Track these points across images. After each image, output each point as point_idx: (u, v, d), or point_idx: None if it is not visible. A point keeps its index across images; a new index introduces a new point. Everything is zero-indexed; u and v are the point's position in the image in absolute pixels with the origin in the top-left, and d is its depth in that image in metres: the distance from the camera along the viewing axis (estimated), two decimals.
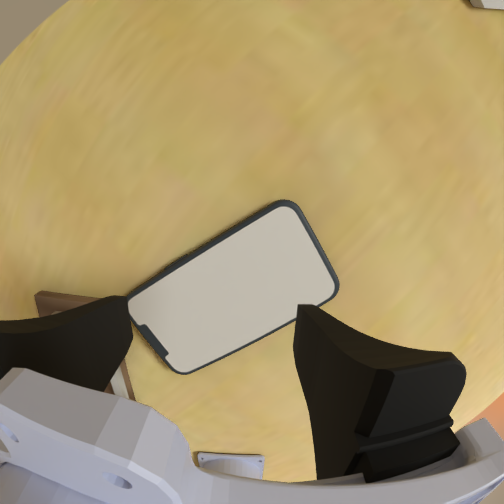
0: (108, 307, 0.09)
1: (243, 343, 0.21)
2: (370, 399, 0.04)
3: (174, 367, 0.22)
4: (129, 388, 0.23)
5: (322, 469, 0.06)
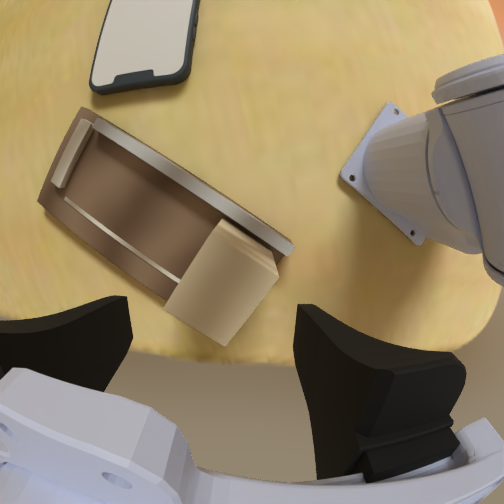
0: (108, 307, 0.09)
1: (189, 8, 0.15)
2: (370, 399, 0.04)
3: (169, 73, 0.17)
4: (172, 161, 0.19)
5: (323, 470, 0.06)
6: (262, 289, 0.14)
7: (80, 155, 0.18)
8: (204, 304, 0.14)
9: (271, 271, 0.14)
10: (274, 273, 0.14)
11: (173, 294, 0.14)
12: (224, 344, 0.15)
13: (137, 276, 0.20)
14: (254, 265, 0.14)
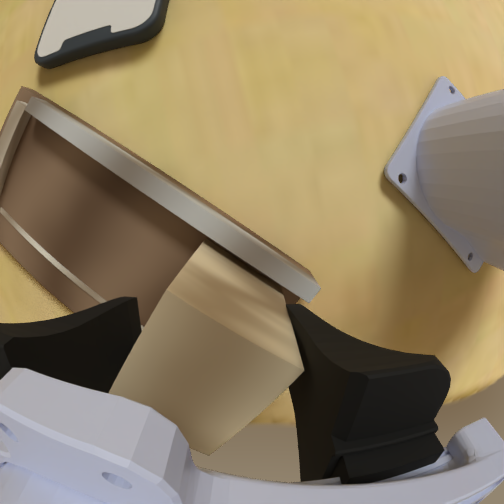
0: (119, 308, 0.09)
1: None
2: (345, 402, 0.04)
3: (132, 26, 0.09)
4: (129, 152, 0.12)
5: (305, 471, 0.06)
6: (272, 390, 0.07)
7: (16, 150, 0.11)
8: (167, 405, 0.07)
9: (289, 360, 0.07)
10: (295, 363, 0.07)
11: (114, 386, 0.07)
12: (207, 453, 0.08)
13: None
14: (257, 352, 0.07)
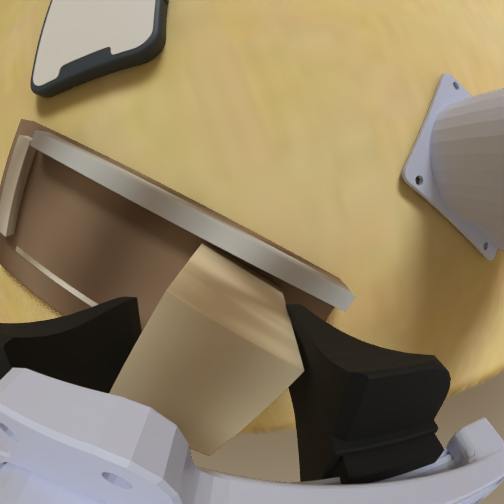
0: (119, 308, 0.09)
1: None
2: (345, 402, 0.04)
3: (133, 46, 0.10)
4: (149, 180, 0.12)
5: (305, 471, 0.06)
6: (272, 390, 0.07)
7: (25, 187, 0.11)
8: (168, 406, 0.07)
9: (289, 360, 0.07)
10: (295, 363, 0.07)
11: (115, 387, 0.07)
12: (208, 453, 0.08)
13: None
14: (256, 353, 0.07)
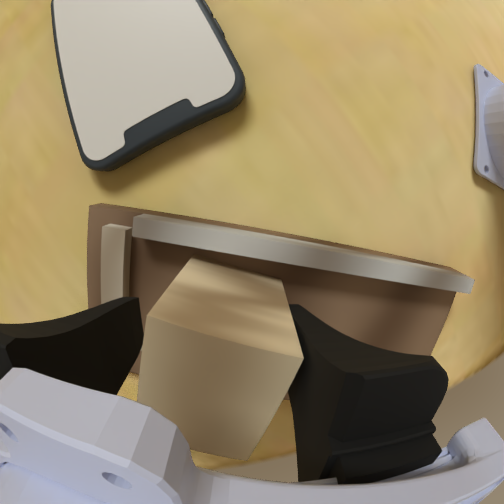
0: (121, 308, 0.09)
1: None
2: (341, 403, 0.04)
3: (220, 94, 0.10)
4: (291, 236, 0.13)
5: (302, 472, 0.06)
6: (279, 385, 0.07)
7: (130, 281, 0.12)
8: (189, 421, 0.07)
9: (285, 351, 0.07)
10: (292, 353, 0.07)
11: None
12: (244, 458, 0.08)
13: None
14: (249, 352, 0.07)
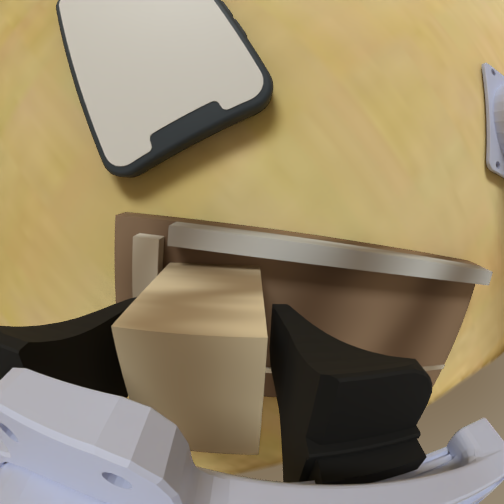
0: None
1: None
2: (317, 405, 0.04)
3: (250, 96, 0.11)
4: (324, 238, 0.13)
5: (286, 473, 0.06)
6: (254, 369, 0.07)
7: None
8: (185, 423, 0.07)
9: (248, 334, 0.07)
10: (255, 334, 0.07)
11: None
12: (255, 452, 0.08)
13: None
14: (209, 342, 0.06)
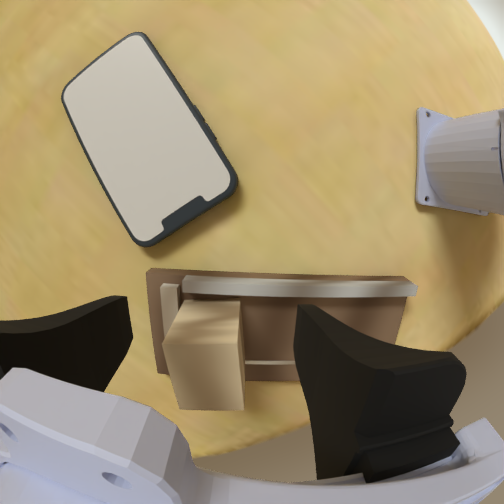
0: (108, 307, 0.09)
1: (183, 105, 0.16)
2: (370, 399, 0.04)
3: (222, 190, 0.18)
4: (281, 276, 0.20)
5: (322, 469, 0.06)
6: (233, 359, 0.14)
7: None
8: (202, 391, 0.14)
9: (228, 342, 0.14)
10: (231, 342, 0.14)
11: (177, 397, 0.15)
12: (242, 408, 0.15)
13: None
14: (210, 347, 0.14)
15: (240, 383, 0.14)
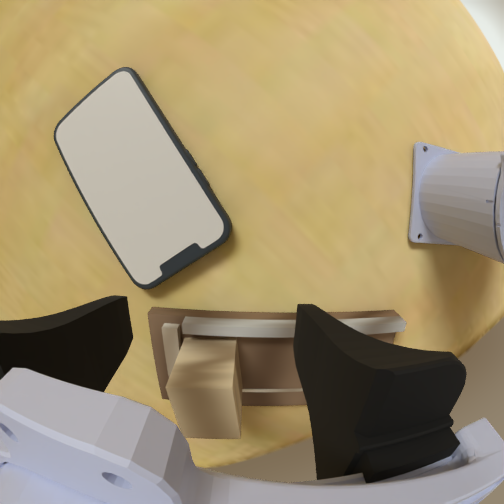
0: (108, 307, 0.09)
1: (174, 150, 0.17)
2: (370, 399, 0.04)
3: (216, 238, 0.19)
4: (275, 315, 0.21)
5: (323, 469, 0.06)
6: (229, 400, 0.15)
7: None
8: (203, 424, 0.15)
9: (224, 386, 0.15)
10: (227, 386, 0.15)
11: (180, 428, 0.15)
12: (238, 437, 0.16)
13: (293, 402, 0.22)
14: (209, 390, 0.15)
15: (236, 418, 0.15)
